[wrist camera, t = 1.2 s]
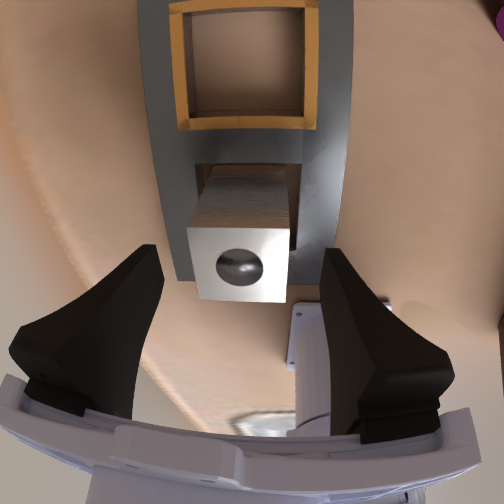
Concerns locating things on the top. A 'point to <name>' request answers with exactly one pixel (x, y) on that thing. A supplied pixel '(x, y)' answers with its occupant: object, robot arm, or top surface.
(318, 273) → the grey holder tray
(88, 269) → the top surface
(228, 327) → the top surface
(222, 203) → the metal block with hole
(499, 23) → the mounting bracket
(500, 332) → the plant pot
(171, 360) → the top surface
